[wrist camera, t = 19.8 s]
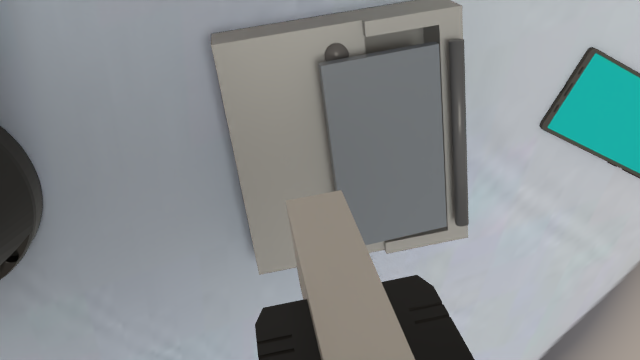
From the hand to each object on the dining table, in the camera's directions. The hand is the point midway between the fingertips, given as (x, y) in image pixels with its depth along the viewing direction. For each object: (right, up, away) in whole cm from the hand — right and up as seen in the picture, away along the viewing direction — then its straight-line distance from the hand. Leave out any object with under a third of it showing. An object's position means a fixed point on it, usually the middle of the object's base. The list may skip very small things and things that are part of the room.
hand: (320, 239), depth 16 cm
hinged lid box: (+2, +5, +31) cm, 31 cm away
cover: (+6, +4, +27) cm, 28 cm away
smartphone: (+26, +7, +35) cm, 44 cm away
